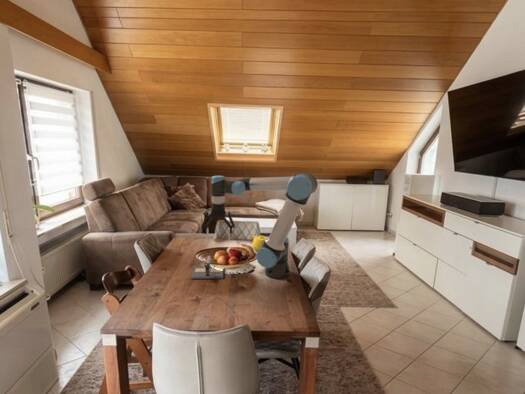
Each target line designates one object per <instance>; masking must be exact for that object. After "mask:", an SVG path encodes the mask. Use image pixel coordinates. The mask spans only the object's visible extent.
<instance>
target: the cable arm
mask: <svg viewBox="0 0 525 394" xmlns="http://www.w3.org/2000/svg"><path fill="white" fill-rule="evenodd" d="M210 263H211V255H207V256H206V261H205V263H204V265H203V266H205V268H210V266H211V264H210Z"/></svg>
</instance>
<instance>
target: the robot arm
mask: <svg viewBox="0 0 525 394" xmlns="http://www.w3.org/2000/svg"><path fill="white" fill-rule="evenodd" d="M210 186H211V210H210V211H209V210H207V211H206V212H205V217H204V219H203V222H202V225H201V228H203V229H204V234H205V235H206V241H208V240H209V237H210V235H209V226H210V225H211V223H212V222H213V221H214V219H215V220H223V221H224V223H225V224H226V225H227V227H228V234H227V236H228V240H230V239H231V235H232V234H233V231H232V230H233V229H234V228H235V227H236V226H235V225H236V224H235V223H234V219H233V217H232V214H231V210H228V211H226V203H225V201H226V195H225V194H229V195H235V196H242V195H243V194H244V193H245V192H252V191H253V192H255V191H256V192H257V191H259V192H260V191H262V192H263V191H264V192H265V191H266V192H267V191H270V192H271V191H286V192H285V193H284V197H285V198H286V199H285V201H284V203H283V206H282V207H281V211H280V213H279V214H278V216H277V219H276V221H275V223H274V225H273V228H272V230H271V233H270V234H269V236H268V237H266V238H265V240H264V242H263V245H262V247H261V248H260V249H259V250H258V251H257V250H256V254H255V258H256V260H257V264H259V265H260V266H261V267H263V268H264V274H265V276H266V277H268V278H272V279H277V280H279V279H287V278H288V277H290V276H291V268H290V263H289V244H290V242H289V241H290V240H289V238H288V236H289V233H290V231H291V229H292V227H293V224H294V223H295V221H296V219H297V216H298V215H299V213H300V211H301V208H302V207H304V206H306V205H307V203H308V201H309V199H310V197H311V195H313V194H314V192H315V191H316V190H317V189H318V180H317V178H316V176H315V174H311V173H308V172H303V173H299V174H298V173H297V174H293V175H292V176H271V177H270V176H269V177H267V176H266V177H241V178H240V179H234V180H228V179H226V177H225V176H224V175H213V176H211V185H210ZM210 214H211V216H212V217H210V219H209V220H208V217H209V216H210ZM225 215H226V216H228V219H229V221H230V222H229V221H228V219H227V218H226V216H225ZM207 220H208V222H207Z"/></svg>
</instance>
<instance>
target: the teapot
mask: <svg viewBox="0 0 525 394" xmlns="http://www.w3.org/2000/svg"><path fill="white" fill-rule="evenodd" d="M265 238H267V237H266V236H264V235H258V236H257V235H253V241H252V244H251V245H252V248H253V250H254V251H255V252H257V251H258V250H259V249H260V248H261V247H262V245H263V242H264V240H265Z"/></svg>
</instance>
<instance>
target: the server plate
mask: <svg viewBox="0 0 525 394" xmlns="http://www.w3.org/2000/svg"><path fill="white" fill-rule="evenodd" d="M211 266H212V265H210V268H205V265H194V266H193V268H192V269H193V270H192V271H191V274H190V280H207V279H208V280H210V279H214V280H215V279H216V280H217V279H218V280H219V279H220V280H221V279H224V274H223V271H220V270H216V269H214V268H212V267H211Z"/></svg>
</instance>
